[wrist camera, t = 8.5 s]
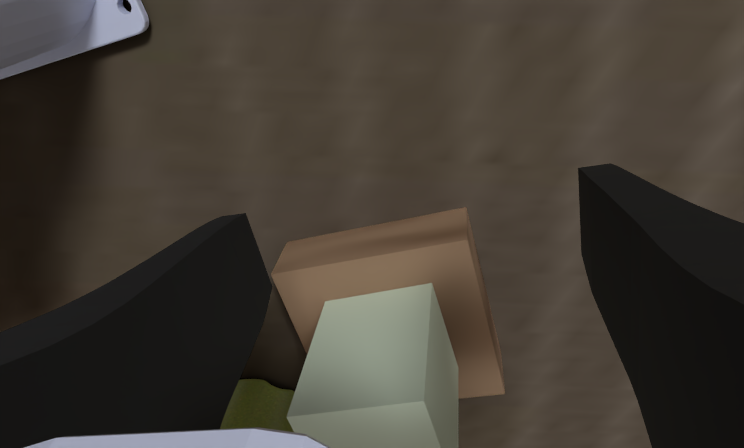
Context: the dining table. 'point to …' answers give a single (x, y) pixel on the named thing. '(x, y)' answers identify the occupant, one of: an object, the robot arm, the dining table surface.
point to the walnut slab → (400, 283)
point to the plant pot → (258, 406)
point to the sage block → (379, 374)
